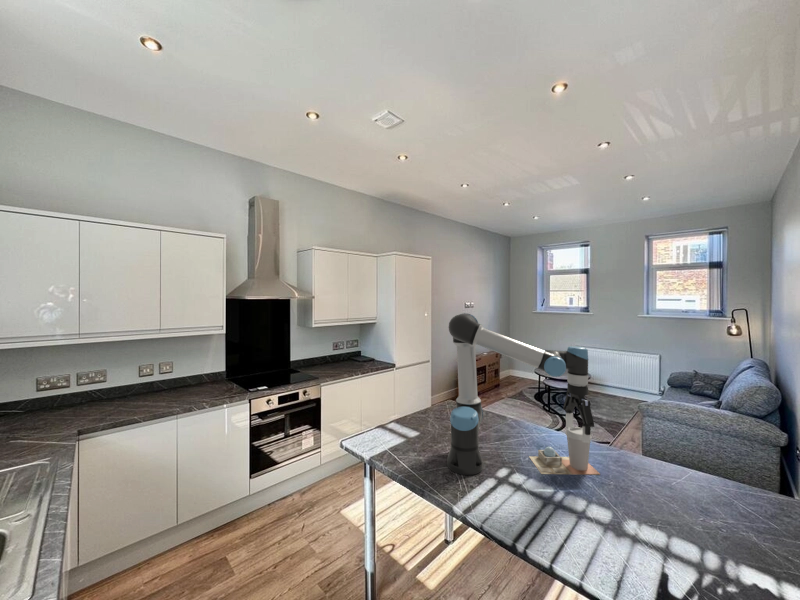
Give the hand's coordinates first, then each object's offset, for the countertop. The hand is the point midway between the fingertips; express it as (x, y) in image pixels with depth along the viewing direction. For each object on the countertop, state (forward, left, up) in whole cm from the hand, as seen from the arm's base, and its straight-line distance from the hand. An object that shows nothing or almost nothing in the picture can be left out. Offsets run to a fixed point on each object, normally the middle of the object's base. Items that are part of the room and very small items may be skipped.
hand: (577, 434), depth 131 cm
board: (-6, +1, -14) cm, 15 cm away
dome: (-10, +4, -12) cm, 16 cm away
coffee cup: (0, 0, -13) cm, 13 cm away
